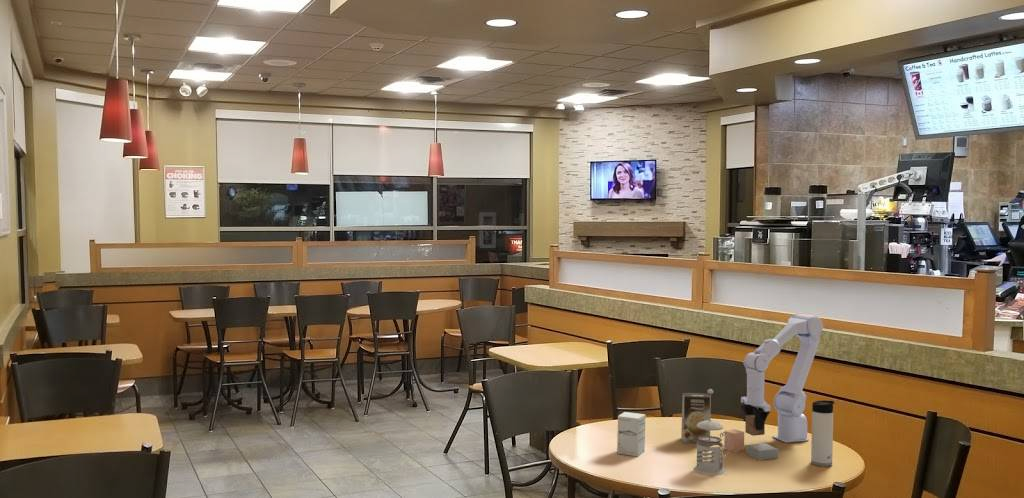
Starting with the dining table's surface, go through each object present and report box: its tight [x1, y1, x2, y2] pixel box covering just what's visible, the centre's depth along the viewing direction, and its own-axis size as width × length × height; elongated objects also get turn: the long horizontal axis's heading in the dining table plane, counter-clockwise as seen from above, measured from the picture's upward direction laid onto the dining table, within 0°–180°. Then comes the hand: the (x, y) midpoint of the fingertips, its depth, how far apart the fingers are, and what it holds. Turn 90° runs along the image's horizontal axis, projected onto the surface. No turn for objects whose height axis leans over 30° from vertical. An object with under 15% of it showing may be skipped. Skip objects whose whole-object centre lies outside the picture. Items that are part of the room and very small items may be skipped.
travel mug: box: [810, 400, 835, 467], centre depth 266 cm, size 6×7×20 cm
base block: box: [746, 442, 779, 461], centre depth 275 cm, size 7×7×3 cm
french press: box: [692, 388, 732, 476], centre depth 258 cm, size 10×12×25 cm
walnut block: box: [744, 414, 766, 436], centre depth 289 cm, size 4×4×6 cm
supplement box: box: [616, 411, 647, 458], centre depth 278 cm, size 7×7×13 cm
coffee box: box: [680, 392, 711, 444], centre depth 293 cm, size 9×6×16 cm
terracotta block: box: [723, 428, 745, 452], centre depth 283 cm, size 4×4×6 cm
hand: (755, 428), depth 289 cm, fingers closed on walnut block, 4 cm apart
